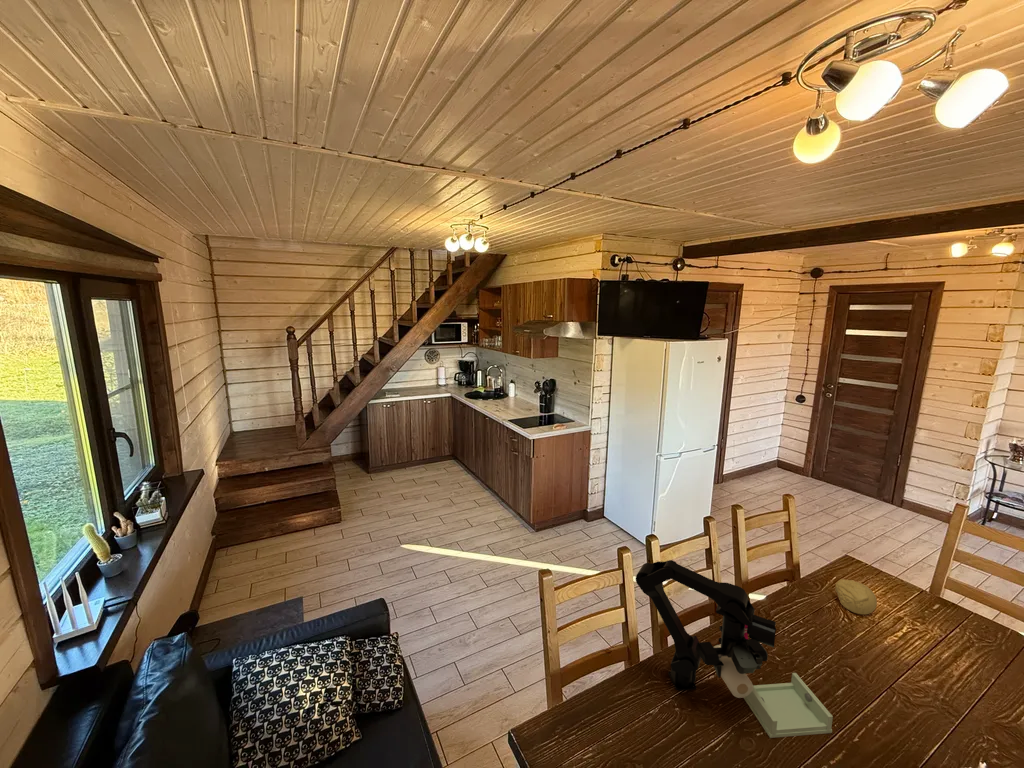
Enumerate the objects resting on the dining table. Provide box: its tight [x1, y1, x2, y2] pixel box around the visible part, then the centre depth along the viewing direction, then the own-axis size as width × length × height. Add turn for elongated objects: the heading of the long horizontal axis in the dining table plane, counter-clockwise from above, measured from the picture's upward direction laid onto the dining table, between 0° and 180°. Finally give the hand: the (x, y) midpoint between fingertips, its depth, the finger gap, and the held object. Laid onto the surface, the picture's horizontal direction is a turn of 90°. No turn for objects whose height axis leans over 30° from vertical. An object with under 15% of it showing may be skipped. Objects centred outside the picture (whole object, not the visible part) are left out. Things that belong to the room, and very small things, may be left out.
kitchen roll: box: [713, 644, 754, 699], centre depth 123 cm, size 13×6×6 cm, turn 3°
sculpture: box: [834, 578, 878, 615], centre depth 162 cm, size 12×12×11 cm
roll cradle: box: [743, 672, 834, 739], centre depth 122 cm, size 18×14×6 cm
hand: (729, 675), depth 123 cm, fingers closed on kitchen roll, 6 cm apart
